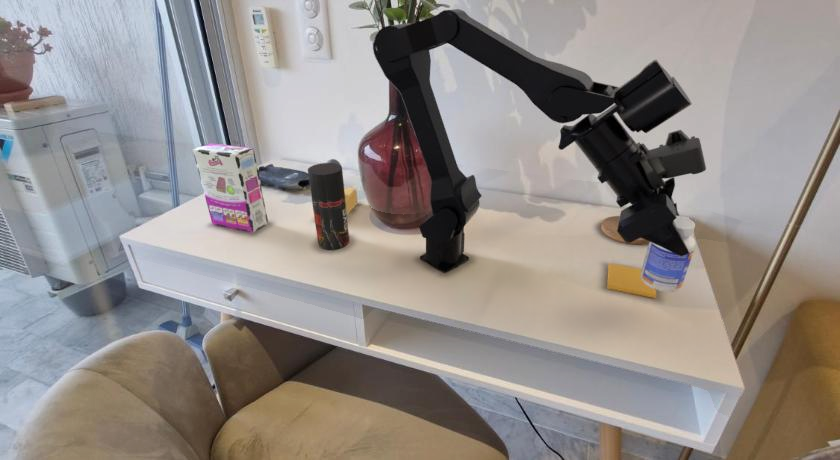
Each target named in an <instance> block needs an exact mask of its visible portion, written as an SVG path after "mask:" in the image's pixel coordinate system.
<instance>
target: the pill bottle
mask: <svg viewBox="0 0 840 460" xmlns="http://www.w3.org/2000/svg"><path fill="white" fill-rule="evenodd" d="M674 223H675V225H676V227H677V228H678V230H679V232H680V234H681V236H682V238H683V240H684V242H685V244H686V246H687V248H688V250H689V253H688V254H686V255H684V256H679V255H677V254H675V253H673V252H671V251H669V250H667V249H665V248H663V247H661V246H659V245H656V244H654V243H652V242H650V241H649V243H648V244H647V250H646V254H645V257H644V260H643V265H642V268H641V269H642V271H641V280H642V281H643V282H644V283H645V284H646V285H647V286H649V287H651V288H653V289H656V291H658V292H659V291H660V292H664V293H673V292H678V291H679V290H680V289H681V288H682V287H683V284H684V282H685V279H686V275H687V272H688V270H689V266H690V264H691V260H692V258H693V254H694V251H695V249H696V245H697V244H696V240H695V238H694V237H693V234H694V232H695V228H696V223H695V222H694V221H693V220H691V219H690V218H688V217H685V216H682V215H680V216H677V215H676V219H675V220H674Z"/></svg>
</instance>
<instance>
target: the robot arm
mask: <svg viewBox="0 0 840 460" xmlns="http://www.w3.org/2000/svg"><path fill="white" fill-rule="evenodd" d="M447 44H448V45H450V46H452V47H454V48H455V49H457V50H458V51H460V52H462V53H463V54H465V55H467V56H468V57H470V58H471V59H473V60H474V61H476V62H477V63H479V64H481V65H482V66H485V67H486V68H488V69H490V70H491V71H493V72H494V73H496V74H498V75H499V76H501V77H503V78H504V79H506V80H508V82H511V83H512V84H514V85H516V87H518V88H519V89H520V90H521V91H522V92H523V93H524V94H525V95H526V96H527V98H528V99H529V100H530V102H531V103H532V104H533V105H534V106H535V107H536V108H538V109H539V110H540V111H541V112H542V113H543V114H544V115H545V116H546V117H547V118H549V119H550V120H551V121H553V122H556V123H559V124H565V125H563V126H561V128H560V130H559V132H560V139H559V144H558V150H560V151H562V150H565V149H566V148H567V147H569V146H570V145H572V144H573V143H575V144H576V145H577V147H578V148H579V149H580V151H581V152H582V153H583V154H584V156H585V157H586V158H587V159H588V161H589V162H590V163H591V165H592V166H593V167H594V168H595V170H596V171H597V172H598V174H597V180H598V181H599V182H600V184H604V183H605V182H606V184H607V185H608V186H609V188H610V189H611V190H612V191H613V193H614V194H615V195H616V201H615V202H616V203H617V205H618V206H619V207H620V208H623V207H624V206H626V205H628V204H630V206H627V207H625V208H624V209H622V210H621V211H620V214H619V216H620V218H619V223H618V229H617V232H618V233H619V234H620V236H621V237H622V238H623V239H624V241H625V242H626V243H625V244H629V243H631V242H633V241H635V240H637V239H639V238H643V239H645V240H647V241H650V242H652V243H654V244H656V245H659V246H661V247H663V248H665V249H667V250H669V251H671V252H673V253H675V254H677V255H679V256H684V255H686V254H688V253H689V250H688V248H687V246H686V244H685V242H684V240H683V238H682V236H681V234H680V232H679V230H678V228H677V227H676V225H675V223H674V220H675V219H676V215H677V216H681V215H680V213H679V211H678V204H677V202H675V201H674V199H673V194H674V191H675V187H676V181H675V178H676V177H681V176H686V175H697V174H700V173H703V172H705V171H706V170H707V166H706V161H705V156H704V152H703V148H702V143H701V139H700V138H699V137H696V136H695V135H693V136H691V137H689V136H688V135H687V134H686V133H685V132H684V131H682V129H678V130H675V131H671V132H668V134H667V138H666V141H665V144H662V143H661V144H659V146H658V147H655V148H652V149H651V148H650V149H649V148H648V147H647V146H646V144H644V143H641V142H640V141H639V142H636V141H635V139H633V137H632V136H631V135H630V133H629V132H628V130H626V128H627V129H629V130H630V131H631V132H632V133H634V132H636V133H640V132H643V133H644V134H647V133H649V132H651V131H652V130H654V129H656V128H657V127H659V126H661V124H663V123H665V122H666V121H668V120H670V119H671V118H673V117H674V116H676V115H677V114H679V113H681V112H682V111H684V110H685V109H687V108H688V107H690V106H692V105H693V104H692V101H691V100H690V98H689V97H688V95H687V93H686V91H685V90H684V88H682V86H681V85H680V83H679V82H678V80H677V79H676V78H675V76H671V75H670V74H669V72H668V71H667V70H666V69H665V68H664V67H663V66H662V65H661V64H660V62H659V61H658V59H654V60H652V61H651V62H649V63H648V64H647V65H645V66H644V68H642V69H641V71H639V72H638V73H637V74H635V76H633V77H632V78H630V79H629V80H628V81H626V82H625V83H623V84H622V85H620V86H616V85H611V84H606V83H604V82H597V81H594V80H593V79H592V78H591V77H590V75H588V74H587V73H586V72H585V71H582V70H580V69H577V68H573V67H571V66H568V65H566V64H562V63H559V62H556V61H551V60H547V59H544V58H541V57H539V56H536V55H534V54H533V53H531V52H530V51H527V49H525V48H523V47H521V46H519V44H516V43H515V42H513V41H511V40H509V39H508V38H506V37H504V36H503V35H501V34H499V33H498V32H496V31H494V30H493V29H491V28H489V27H488V26H486V25H484V24H482V23H481V22H480V21H477V20H475V19H474V18H472V17H471V16H470V15H468V14H467V12H465V10H462V9H459V8H456V9H443V10H442V11H439V13H437V14H435V15H433V16H430V17H428V18H425V19H422V20H419V21H416V22H414V23H412V22H411V23H410V22H407V23H398V24H392V25H386V26H383V27H381V28H380V29H379V30H378V31H377V33H376V35H375V37H374V41H373V42H372V52H373V55H374V58H375V60H376V62H377V63H378V66H379V67H380V69H381V72H382V73H383V75H384V76H385V78H386V79H387V80H388V81H389V82H390V83H391V85H392V86H394V88H395V89H396V90H397V91H398V92H399V94H400V96H401V99H402V101H403V104H404V108H405V110H406V113H407V116H408V119H409V122H410V125H411V127H412V130H413V133H414V136H415V138H416V141H417V144H418V147H419V150H420V153H421V156H422V158H423V161H424V164H425V167H426V170H427V173H428V175H429V178H430V191H429V192H430V194H429V203H430V208H431V214H430V215H429V216H428V217H427V218H426V219H425V220H424V221H423V222H421V224H420V225H419V227H418V228H419V231H420V234H421V237H422V238H423V239H425V253H424V254H421V255H420V256H419V260H420V261H422V262H424V263H425V264H427V265H429V266H431V267H432V268H433V269H435V270H437V271H439V272H441V273H443V274H446V273H449V272H450V271H452V270H454V269H457V268H458V267H460V266H461V265H463V264H465V263H467V262H469V261H470V256H468V255H466V254H465V237H466V236H465V226H467V224H468V223H469V222H470V220H471V219H472V218H474V216H475V215H476V213H477V212H478V210H479V207H480V204H481V203H480V199H481V198H482V196H483V195H482V194H481V193H480V191H479V189H478V188H477V180H476V177H475V175H474V174H471V175H469V176H466V175H465V174H464V173H463V172H462V170H460V167H459V166H458V163H457V160H456V157H455V154H454V151H453V147H452V145H451V142H450V139H449V136H448V133H447V129H446V127H445V124H444V121H443V117H442V115H441V112H440V109H439V106H438V103H437V99H436V96H435V93H434V90H433V88H432V85H431V66H432V65H431V64H432V59H431V53H430V51H431V50H434V49H437V48H440V47H443V46H444V45H447ZM597 114H598V115H597ZM615 114H617V116H619V119H621V121H622V122H623V124H624V125H625V126H626V128H625V127H624V125H623V124H622V123H621V122H620V120H619V119H618V118H617V116H616V115H615ZM583 115H584V117H583V118H582V119H580V118H581V117H582V116H583ZM585 115H586V116H585ZM595 115H596V116H595ZM578 119H580V120H579V121H578V122H576V123H575V124H574V125H567V123H571V122H574V121H576V120H578ZM664 179H667V180H664Z"/></svg>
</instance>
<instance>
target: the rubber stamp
mask: <svg viewBox="0 0 840 460" xmlns="http://www.w3.org/2000/svg"><path fill="white" fill-rule="evenodd" d="M326 163H335V164H339V165H341V163H340V161H338V160H337V159H334V158H331V159H328V160H327V161H326ZM341 166H342V165H341ZM344 192H345V202H346V212H347V216H348V215H349V213H350V212H352V210H353V209H354V207H355V206H357V204H358V202H359V201H358V192H357V189H356V188H348V187H344Z"/></svg>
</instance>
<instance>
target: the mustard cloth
mask: <svg viewBox="0 0 840 460" xmlns="http://www.w3.org/2000/svg"><path fill="white" fill-rule="evenodd" d="M607 267H608V268H607V286H606V288H607V290H608V289H609V290H613V291H619V292H623V293H628V294H632V295H633V294H634V295H637V296H638V295H639V296H643V297H648V298H654V299H656V298H657V290H656V289H653V288H651V287H649V286H647V285H646V284H645V283H644V282H643V281H642V280H641V271H642V268H636V267H631V266H626V265H621V264H614V263H608V266H607Z"/></svg>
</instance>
